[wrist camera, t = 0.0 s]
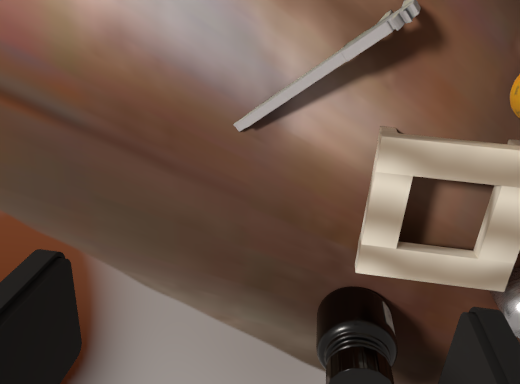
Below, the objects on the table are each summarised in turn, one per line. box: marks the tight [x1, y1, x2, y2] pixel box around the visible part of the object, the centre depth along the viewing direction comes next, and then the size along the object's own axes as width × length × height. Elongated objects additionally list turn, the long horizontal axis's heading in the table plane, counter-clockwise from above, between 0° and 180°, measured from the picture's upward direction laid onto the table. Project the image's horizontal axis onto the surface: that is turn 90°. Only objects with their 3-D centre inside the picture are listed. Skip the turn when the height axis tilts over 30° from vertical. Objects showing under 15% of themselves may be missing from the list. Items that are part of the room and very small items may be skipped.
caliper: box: [234, 0, 421, 132], centre depth 41 cm, size 20×1×6 cm, turn 127°
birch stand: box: [355, 126, 520, 292], centre depth 45 cm, size 15×15×5 cm
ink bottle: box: [316, 287, 397, 384], centre depth 50 cm, size 10×9×12 cm
